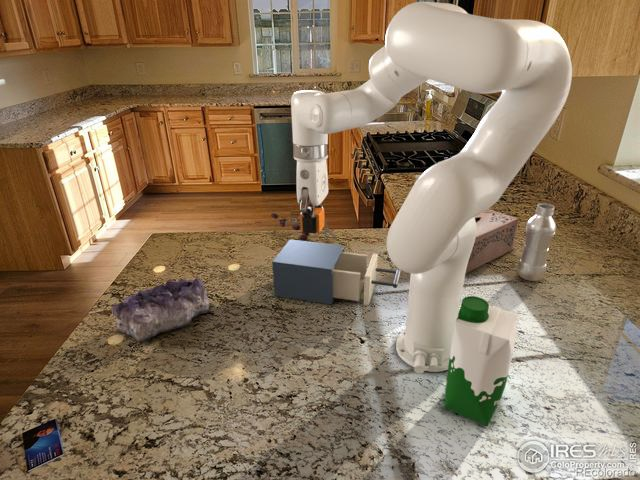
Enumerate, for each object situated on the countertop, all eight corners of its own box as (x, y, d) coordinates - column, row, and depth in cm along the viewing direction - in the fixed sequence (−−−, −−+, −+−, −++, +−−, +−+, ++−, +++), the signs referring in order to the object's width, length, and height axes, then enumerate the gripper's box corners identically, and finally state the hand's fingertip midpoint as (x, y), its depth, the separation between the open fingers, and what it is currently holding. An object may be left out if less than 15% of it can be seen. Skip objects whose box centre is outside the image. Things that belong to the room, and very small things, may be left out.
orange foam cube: (319, 233, 97) (319, 215, 95) (300, 231, 98) (300, 213, 97) (324, 225, 101) (324, 208, 99) (306, 224, 102) (305, 206, 100)
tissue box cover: (457, 277, 111) (462, 243, 107) (415, 257, 122) (418, 225, 117) (511, 249, 125) (518, 218, 121) (470, 233, 136) (474, 204, 131)
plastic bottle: (546, 285, 107) (565, 212, 99) (518, 282, 109) (534, 210, 100) (540, 272, 113) (557, 202, 104) (513, 270, 114) (528, 200, 106)
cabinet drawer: (400, 284, 107) (402, 256, 103) (395, 309, 97) (397, 280, 94) (325, 274, 112) (325, 247, 108) (313, 297, 102) (312, 269, 99)
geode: (196, 293, 106) (194, 259, 101) (218, 319, 99) (218, 284, 94) (110, 323, 94) (103, 286, 89) (128, 355, 86) (122, 317, 81)
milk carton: (452, 378, 79) (467, 286, 70) (503, 397, 74) (526, 301, 66) (437, 410, 72) (451, 312, 63) (492, 433, 68) (516, 332, 59)
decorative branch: (267, 202, 144) (339, 202, 126) (281, 219, 150) (352, 221, 132) (251, 228, 139) (325, 232, 121) (266, 244, 145) (338, 251, 127)
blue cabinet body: (343, 278, 112) (344, 245, 107) (331, 304, 101) (332, 269, 96) (291, 271, 115) (290, 239, 111) (274, 295, 104) (272, 261, 100)
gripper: (316, 161, 84) (318, 244, 92) (336, 143, 99) (336, 216, 106) (280, 159, 86) (285, 241, 93) (305, 142, 100) (308, 213, 108)
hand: (312, 227), depth 100 cm, fingers closed on orange foam cube, 4 cm apart
